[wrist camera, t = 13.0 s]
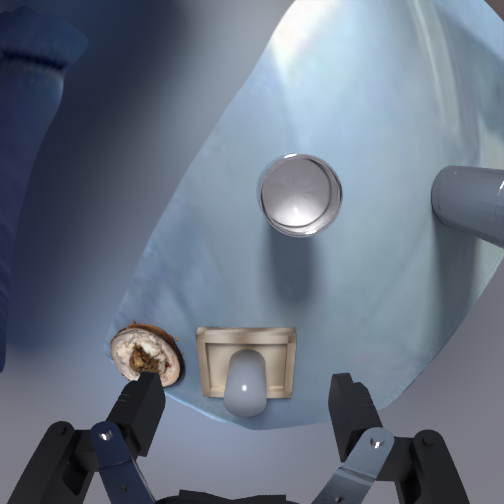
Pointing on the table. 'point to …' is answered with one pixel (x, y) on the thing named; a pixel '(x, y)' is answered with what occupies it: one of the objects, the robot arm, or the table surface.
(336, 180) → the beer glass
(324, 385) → the table surface
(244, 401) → the grey rounded cylinder
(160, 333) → the stuffed round slice
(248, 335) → the birch tray
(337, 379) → the robot arm
